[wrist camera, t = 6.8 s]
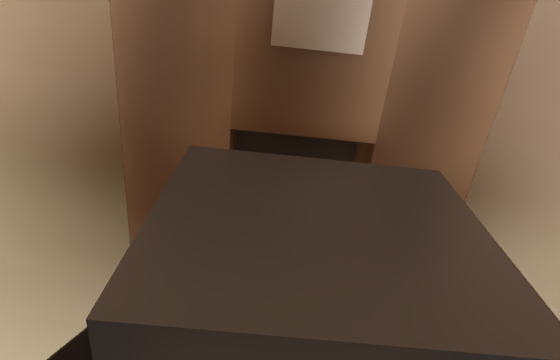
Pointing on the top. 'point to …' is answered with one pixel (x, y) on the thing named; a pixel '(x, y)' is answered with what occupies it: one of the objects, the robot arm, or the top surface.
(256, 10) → the socket box
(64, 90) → the top surface
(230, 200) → the dark grey block
